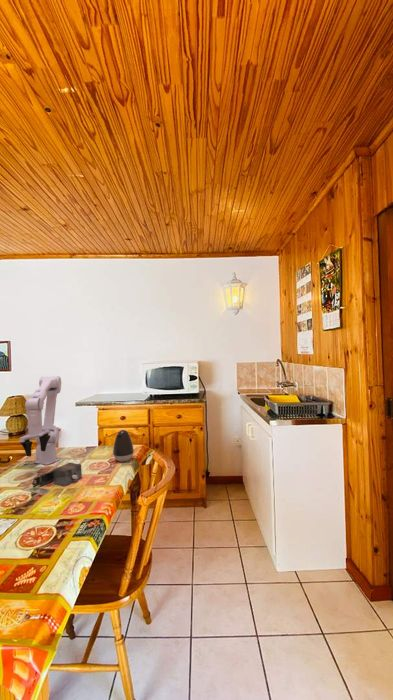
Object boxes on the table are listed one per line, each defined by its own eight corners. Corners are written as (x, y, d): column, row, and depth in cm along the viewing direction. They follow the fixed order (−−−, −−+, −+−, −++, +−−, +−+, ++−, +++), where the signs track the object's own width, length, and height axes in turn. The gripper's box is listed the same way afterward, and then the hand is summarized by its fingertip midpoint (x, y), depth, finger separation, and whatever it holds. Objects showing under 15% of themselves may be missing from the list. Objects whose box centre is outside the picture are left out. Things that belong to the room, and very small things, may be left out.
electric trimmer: (69, 474, 146) (69, 467, 146) (36, 486, 133) (36, 479, 133) (64, 473, 148) (64, 466, 148) (31, 485, 135) (31, 477, 135)
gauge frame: (21, 489, 130) (20, 475, 130) (57, 473, 146) (56, 460, 146) (47, 495, 123) (46, 480, 123) (81, 478, 140) (81, 464, 140)
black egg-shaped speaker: (109, 462, 158) (108, 432, 158) (120, 456, 168) (119, 427, 168) (127, 464, 155) (126, 433, 155) (137, 457, 165) (136, 428, 165)
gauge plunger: (32, 488, 129) (32, 478, 129) (70, 471, 147) (70, 462, 147) (54, 493, 124) (54, 483, 124) (90, 474, 142) (90, 465, 142)
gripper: (26, 428, 138) (27, 459, 138) (54, 421, 152) (55, 449, 151) (16, 427, 141) (17, 457, 141) (43, 420, 154) (44, 448, 154)
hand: (36, 453), depth 147 cm, fingers open, 7 cm apart
